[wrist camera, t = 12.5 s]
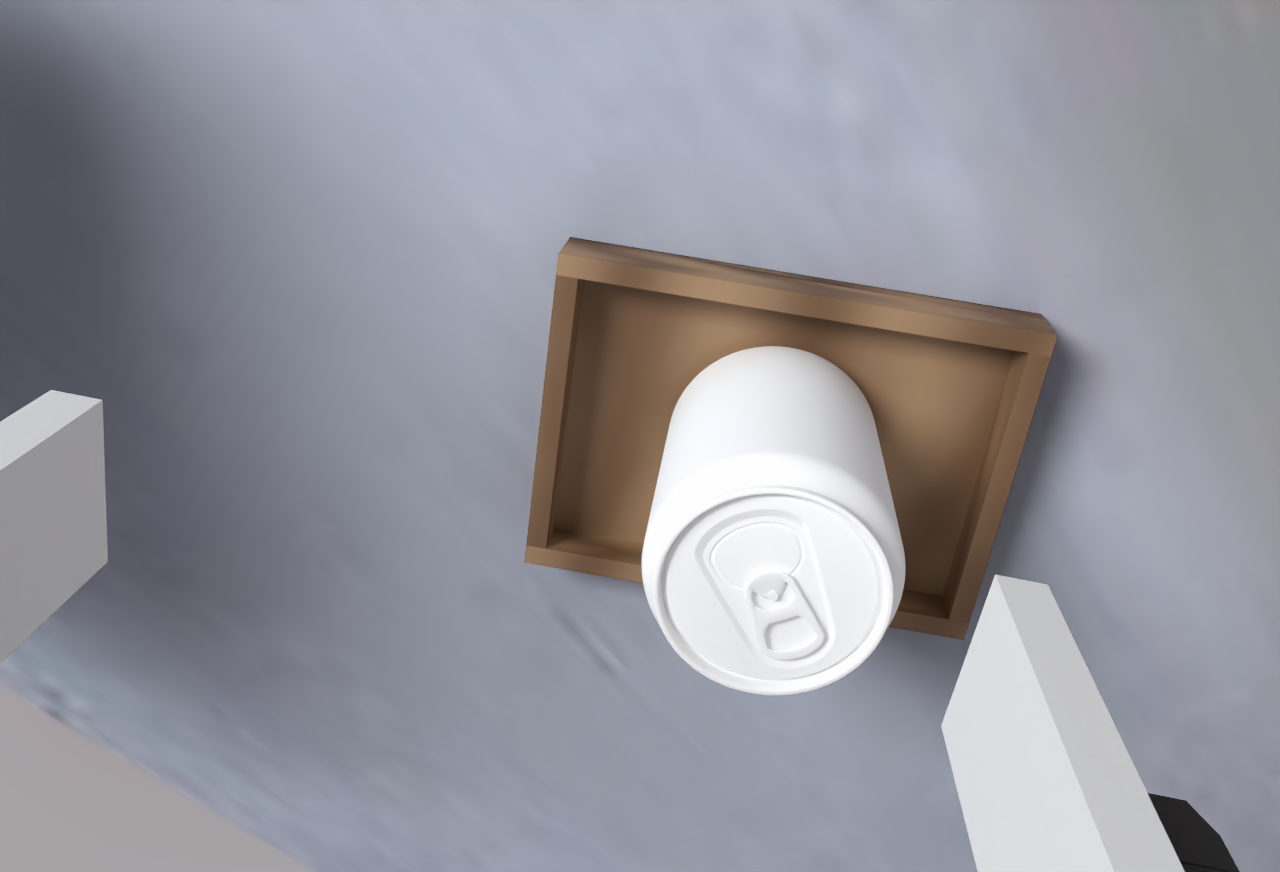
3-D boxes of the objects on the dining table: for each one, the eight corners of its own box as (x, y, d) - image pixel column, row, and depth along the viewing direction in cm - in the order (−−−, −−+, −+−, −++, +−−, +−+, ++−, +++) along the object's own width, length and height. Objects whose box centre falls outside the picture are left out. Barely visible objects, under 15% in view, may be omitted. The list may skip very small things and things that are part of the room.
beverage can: (835, 309, 41) (859, 435, 30) (902, 492, 44) (946, 668, 33) (638, 381, 43) (593, 523, 32) (713, 552, 46) (695, 736, 35)
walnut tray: (536, 532, 47) (524, 562, 45) (570, 237, 42) (558, 253, 40) (953, 605, 47) (963, 639, 44) (1041, 314, 41) (1057, 335, 39)
